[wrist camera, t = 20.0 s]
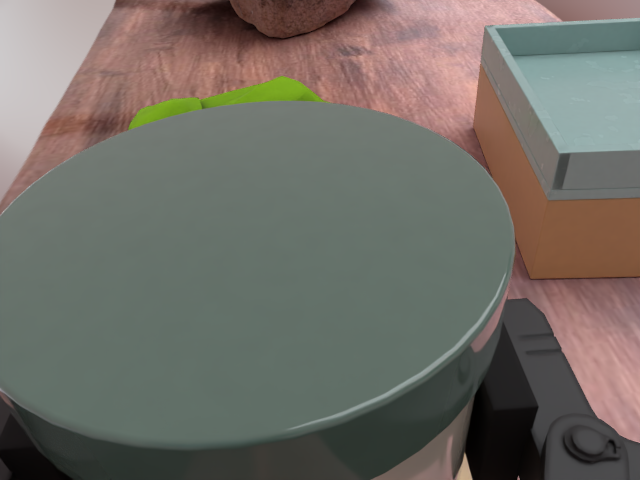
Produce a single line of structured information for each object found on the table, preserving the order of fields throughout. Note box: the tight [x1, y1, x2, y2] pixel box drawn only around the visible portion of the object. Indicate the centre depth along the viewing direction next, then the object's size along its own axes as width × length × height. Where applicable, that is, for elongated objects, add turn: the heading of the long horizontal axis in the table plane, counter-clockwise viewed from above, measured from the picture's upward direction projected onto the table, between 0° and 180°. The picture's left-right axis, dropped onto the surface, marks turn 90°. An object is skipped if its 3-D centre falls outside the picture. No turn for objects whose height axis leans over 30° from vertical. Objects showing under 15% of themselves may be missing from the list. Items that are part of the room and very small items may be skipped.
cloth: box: [128, 76, 330, 130], centre depth 43 cm, size 20×22×2 cm
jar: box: [0, 101, 516, 480], centre depth 12 cm, size 8×8×12 cm
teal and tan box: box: [473, 18, 640, 279], centre depth 34 cm, size 17×12×8 cm
